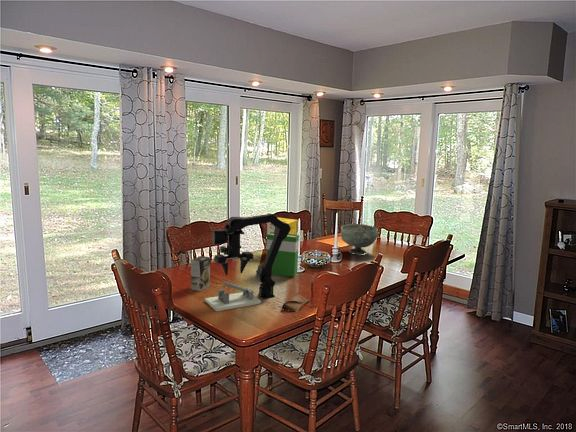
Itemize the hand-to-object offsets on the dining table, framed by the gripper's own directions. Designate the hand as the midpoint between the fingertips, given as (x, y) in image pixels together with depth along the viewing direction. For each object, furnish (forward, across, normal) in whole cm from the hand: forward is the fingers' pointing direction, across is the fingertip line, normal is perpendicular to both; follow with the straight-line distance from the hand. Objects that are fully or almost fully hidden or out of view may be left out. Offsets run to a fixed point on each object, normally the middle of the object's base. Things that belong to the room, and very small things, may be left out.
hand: (233, 274), depth 208 cm
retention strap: (+6, 0, +4) cm, 7 cm away
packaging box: (+14, -65, -60) cm, 90 cm away
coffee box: (+13, +9, -22) cm, 27 cm away
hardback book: (+14, -43, -26) cm, 52 cm away
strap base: (+13, +2, +4) cm, 14 cm away
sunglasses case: (+14, -24, +20) cm, 34 cm away
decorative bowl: (+14, -120, -44) cm, 128 cm away
